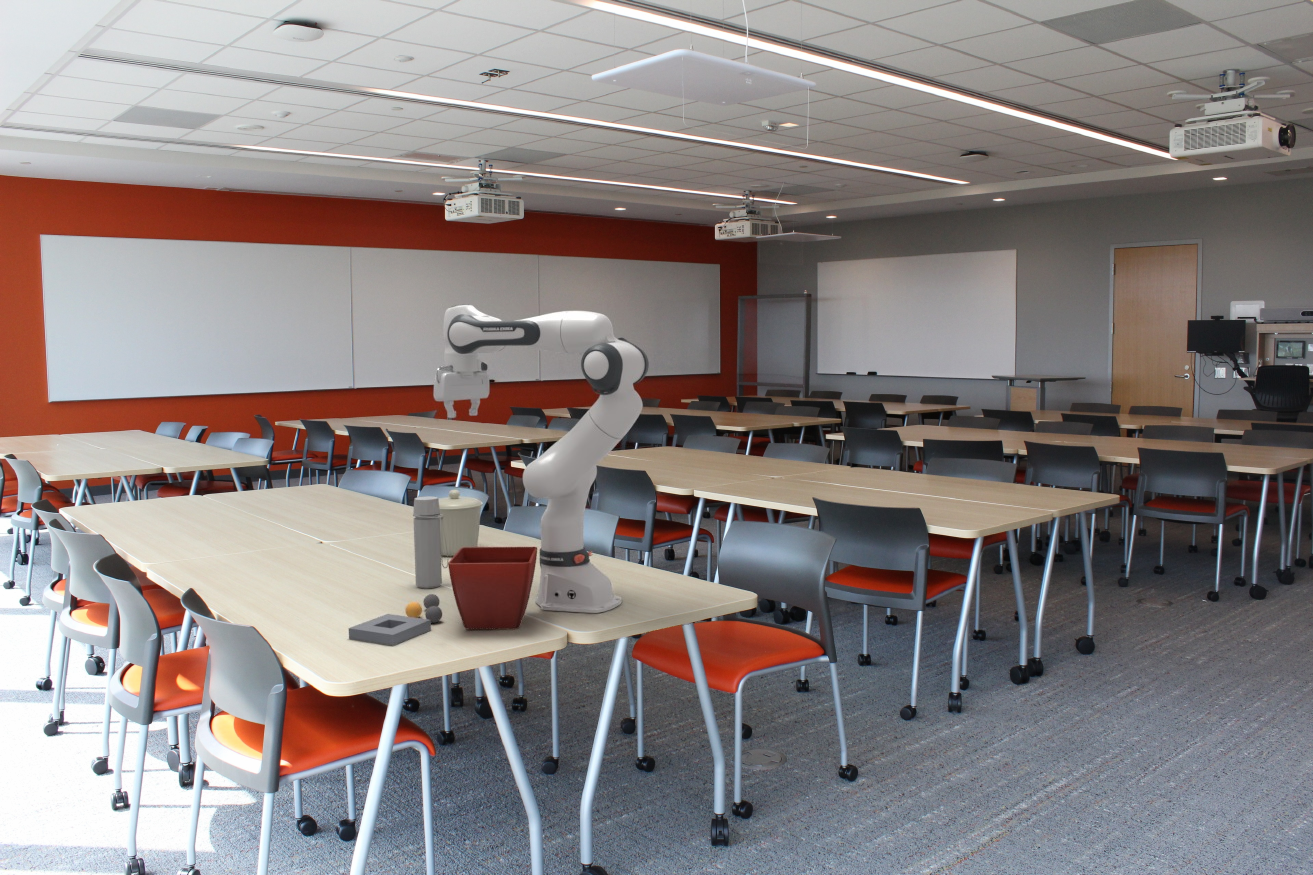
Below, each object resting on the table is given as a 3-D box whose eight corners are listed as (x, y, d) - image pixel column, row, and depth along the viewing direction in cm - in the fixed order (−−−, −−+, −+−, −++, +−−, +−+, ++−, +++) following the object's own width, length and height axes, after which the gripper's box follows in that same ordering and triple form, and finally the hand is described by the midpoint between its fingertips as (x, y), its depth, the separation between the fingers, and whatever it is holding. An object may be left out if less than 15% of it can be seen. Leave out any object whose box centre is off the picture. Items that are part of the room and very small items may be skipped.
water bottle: (415, 590, 260) (412, 500, 258) (415, 583, 267) (412, 496, 265) (449, 587, 262) (447, 499, 260) (448, 581, 270) (445, 495, 268)
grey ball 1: (443, 608, 241) (442, 593, 241) (432, 612, 237) (432, 596, 237) (430, 606, 243) (430, 591, 242) (420, 610, 239) (419, 595, 239)
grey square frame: (430, 630, 222) (430, 619, 222) (393, 645, 210) (392, 634, 210) (388, 623, 228) (387, 613, 227) (349, 638, 216) (348, 628, 216)
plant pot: (539, 611, 238) (537, 545, 236) (532, 633, 219) (530, 562, 217) (463, 612, 237) (461, 546, 236) (449, 635, 218) (446, 563, 217)
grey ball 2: (445, 621, 229) (445, 605, 229) (435, 625, 226) (434, 609, 225) (432, 619, 231) (432, 603, 231) (422, 623, 228) (421, 607, 227)
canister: (489, 556, 303) (487, 491, 301) (432, 561, 296) (430, 495, 294) (478, 545, 320) (476, 484, 318) (424, 550, 313) (422, 487, 311)
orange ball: (425, 616, 233) (425, 601, 233) (415, 621, 230) (414, 605, 229) (413, 615, 235) (412, 599, 235) (402, 619, 231) (401, 603, 231)
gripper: (446, 366, 243) (447, 419, 245) (492, 364, 262) (494, 414, 263) (426, 366, 246) (428, 418, 247) (474, 365, 264) (475, 414, 266)
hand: (462, 416), depth 255 cm, fingers open, 8 cm apart
